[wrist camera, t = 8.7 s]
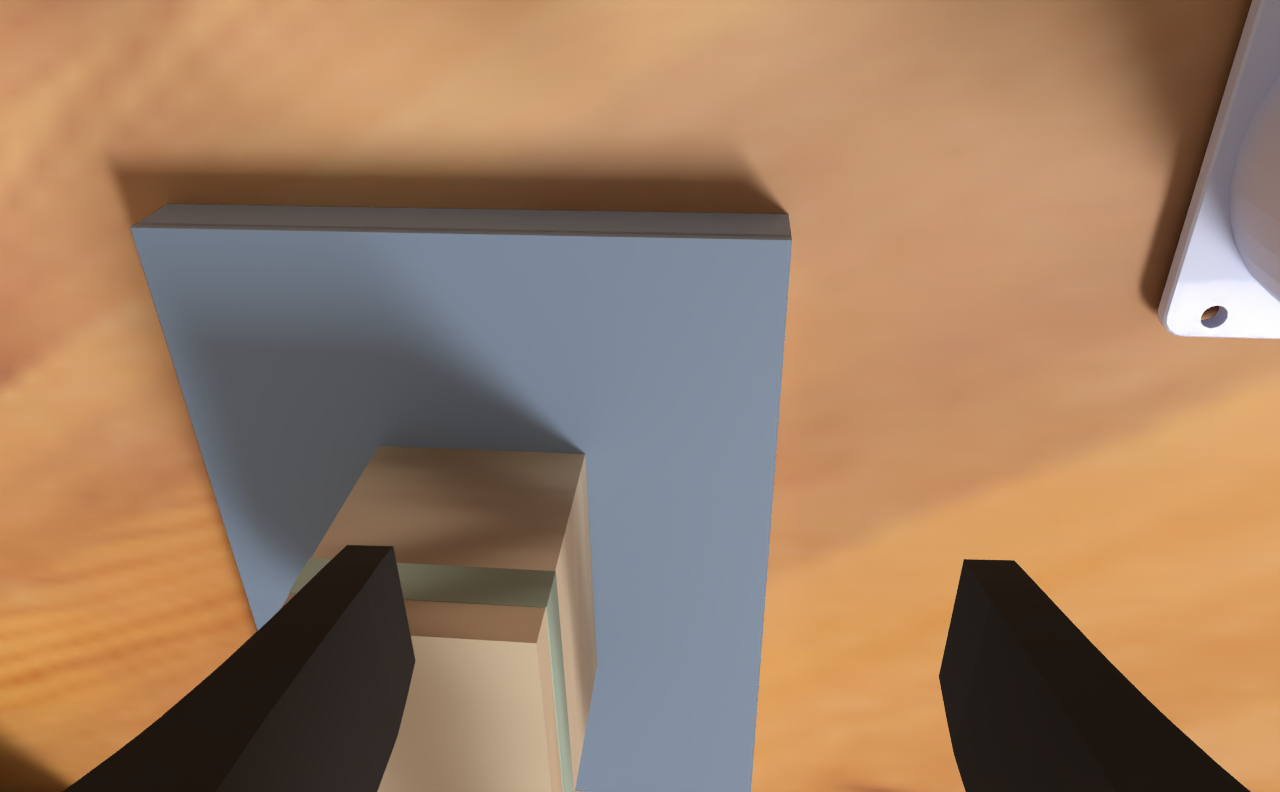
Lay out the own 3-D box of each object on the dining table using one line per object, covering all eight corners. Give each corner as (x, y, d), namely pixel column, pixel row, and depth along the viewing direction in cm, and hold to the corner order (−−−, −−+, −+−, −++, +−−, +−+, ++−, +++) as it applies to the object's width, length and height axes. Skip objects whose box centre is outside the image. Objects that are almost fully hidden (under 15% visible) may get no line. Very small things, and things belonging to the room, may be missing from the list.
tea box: (585, 453, 22) (537, 642, 17) (598, 665, 25) (561, 874, 20) (378, 444, 22) (268, 626, 17) (418, 654, 26) (338, 856, 21)
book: (786, 206, 20) (791, 240, 18) (748, 747, 29) (750, 803, 28) (178, 196, 21) (130, 227, 20) (326, 719, 31) (302, 771, 29)
